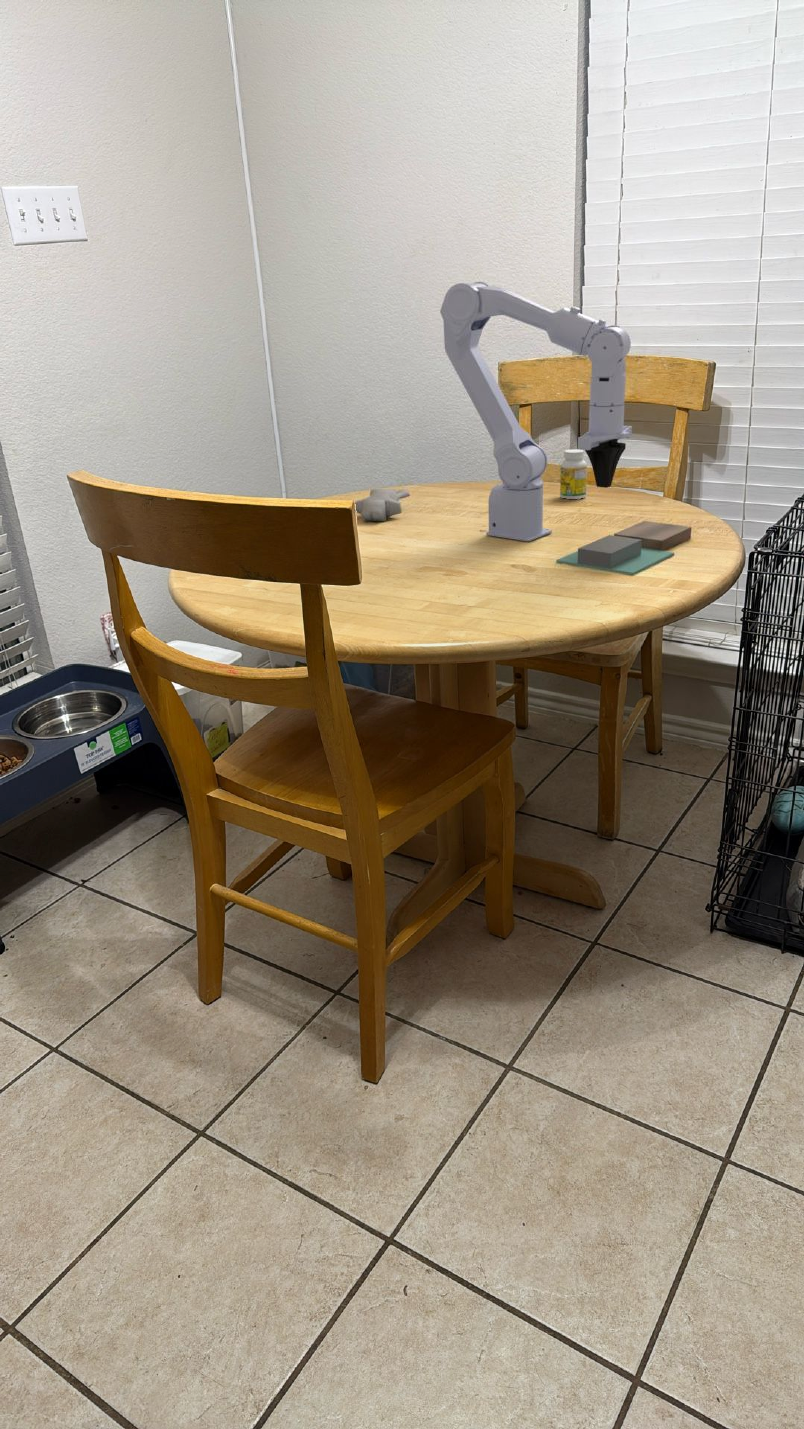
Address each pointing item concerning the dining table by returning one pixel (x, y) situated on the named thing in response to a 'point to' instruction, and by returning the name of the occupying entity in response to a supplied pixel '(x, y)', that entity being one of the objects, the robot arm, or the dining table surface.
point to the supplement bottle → (573, 475)
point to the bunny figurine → (381, 504)
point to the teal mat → (628, 567)
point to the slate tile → (609, 551)
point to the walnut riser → (657, 534)
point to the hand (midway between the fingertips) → (603, 486)
